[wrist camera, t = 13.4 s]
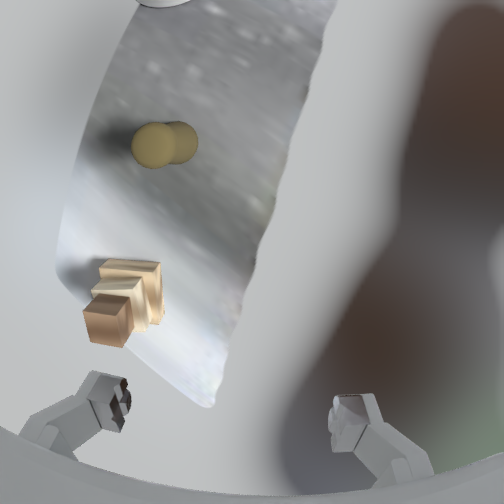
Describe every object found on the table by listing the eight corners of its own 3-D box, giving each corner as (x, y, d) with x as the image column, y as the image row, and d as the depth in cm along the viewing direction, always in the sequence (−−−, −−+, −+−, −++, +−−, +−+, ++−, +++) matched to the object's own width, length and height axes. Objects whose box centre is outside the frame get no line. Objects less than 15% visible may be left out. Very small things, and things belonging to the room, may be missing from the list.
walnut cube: (98, 293, 40) (82, 311, 35) (129, 297, 40) (115, 316, 35) (104, 322, 42) (90, 342, 37) (134, 327, 42) (122, 347, 37)
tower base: (109, 257, 47) (98, 267, 43) (161, 261, 47) (153, 272, 43) (117, 306, 50) (107, 318, 46) (165, 311, 50) (158, 324, 46)
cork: (149, 154, 41) (115, 162, 30) (166, 115, 39) (135, 110, 28) (187, 171, 41) (163, 183, 31) (205, 131, 39) (185, 129, 29)
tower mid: (102, 278, 44) (90, 290, 40) (142, 276, 43) (132, 289, 40) (114, 317, 46) (104, 331, 43) (152, 317, 46) (144, 332, 42)
